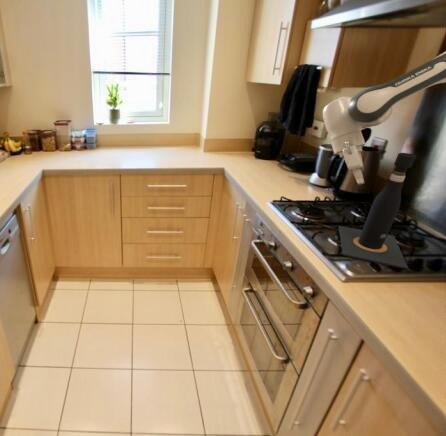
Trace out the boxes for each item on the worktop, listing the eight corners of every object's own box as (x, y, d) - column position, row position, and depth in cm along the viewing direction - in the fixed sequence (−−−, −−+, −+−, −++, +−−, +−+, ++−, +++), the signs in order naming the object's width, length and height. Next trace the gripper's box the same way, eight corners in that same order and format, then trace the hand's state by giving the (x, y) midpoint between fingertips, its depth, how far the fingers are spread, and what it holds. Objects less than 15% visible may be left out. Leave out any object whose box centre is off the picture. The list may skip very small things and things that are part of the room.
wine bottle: (361, 236, 107) (395, 150, 93) (384, 244, 103) (423, 154, 89) (355, 243, 103) (390, 154, 89) (378, 251, 99) (419, 159, 85)
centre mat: (393, 237, 108) (394, 235, 107) (407, 269, 92) (408, 267, 92) (338, 227, 114) (339, 225, 114) (342, 255, 99) (343, 253, 99)
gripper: (358, 136, 97) (372, 178, 95) (360, 145, 113) (373, 182, 111) (334, 144, 101) (348, 185, 99) (339, 152, 117) (351, 187, 115)
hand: (361, 183), depth 105 cm, fingers open, 8 cm apart
